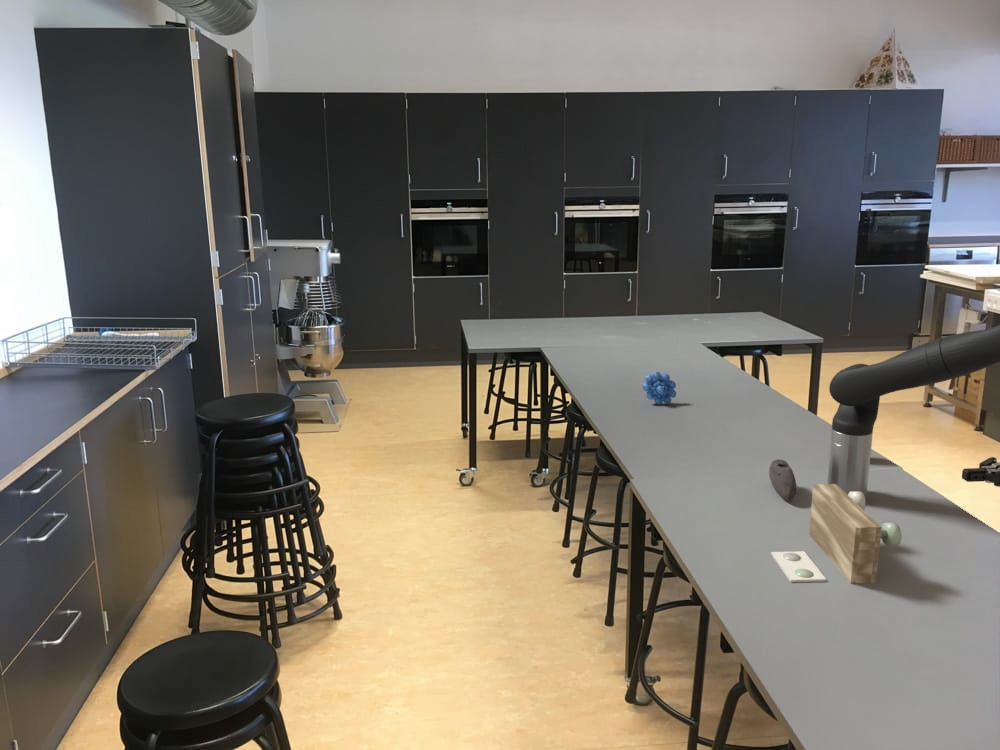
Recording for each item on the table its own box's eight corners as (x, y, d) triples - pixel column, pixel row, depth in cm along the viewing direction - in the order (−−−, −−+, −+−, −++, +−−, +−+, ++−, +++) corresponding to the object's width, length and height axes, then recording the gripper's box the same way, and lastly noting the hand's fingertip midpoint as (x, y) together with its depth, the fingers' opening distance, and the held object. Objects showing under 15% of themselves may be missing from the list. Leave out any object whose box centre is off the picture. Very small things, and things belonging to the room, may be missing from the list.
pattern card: (771, 554, 173) (771, 551, 172) (803, 553, 172) (804, 550, 172) (790, 582, 161) (790, 579, 161) (825, 581, 161) (826, 578, 161)
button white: (855, 506, 179) (857, 488, 178) (864, 515, 174) (866, 496, 173) (830, 507, 179) (831, 488, 178) (838, 515, 174) (839, 496, 173)
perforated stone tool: (800, 506, 196) (802, 480, 194) (778, 506, 197) (779, 479, 195) (787, 483, 210) (789, 458, 208) (767, 482, 211) (768, 457, 209)
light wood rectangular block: (831, 533, 181) (835, 483, 178) (875, 582, 160) (881, 527, 157) (809, 534, 181) (813, 484, 178) (850, 583, 160) (855, 527, 157)
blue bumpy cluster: (643, 408, 277) (644, 374, 274) (641, 402, 284) (642, 369, 281) (678, 408, 276) (679, 374, 273) (675, 402, 283) (676, 369, 280)
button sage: (889, 539, 163) (891, 519, 162) (900, 549, 159) (902, 528, 158) (861, 539, 163) (863, 519, 162) (871, 549, 159) (873, 529, 158)
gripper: (1034, 443, 163) (947, 445, 163) (1079, 466, 150) (986, 469, 150) (1029, 478, 165) (944, 480, 165) (1074, 504, 152) (981, 506, 152)
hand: (964, 475), depth 157 cm, fingers closed
